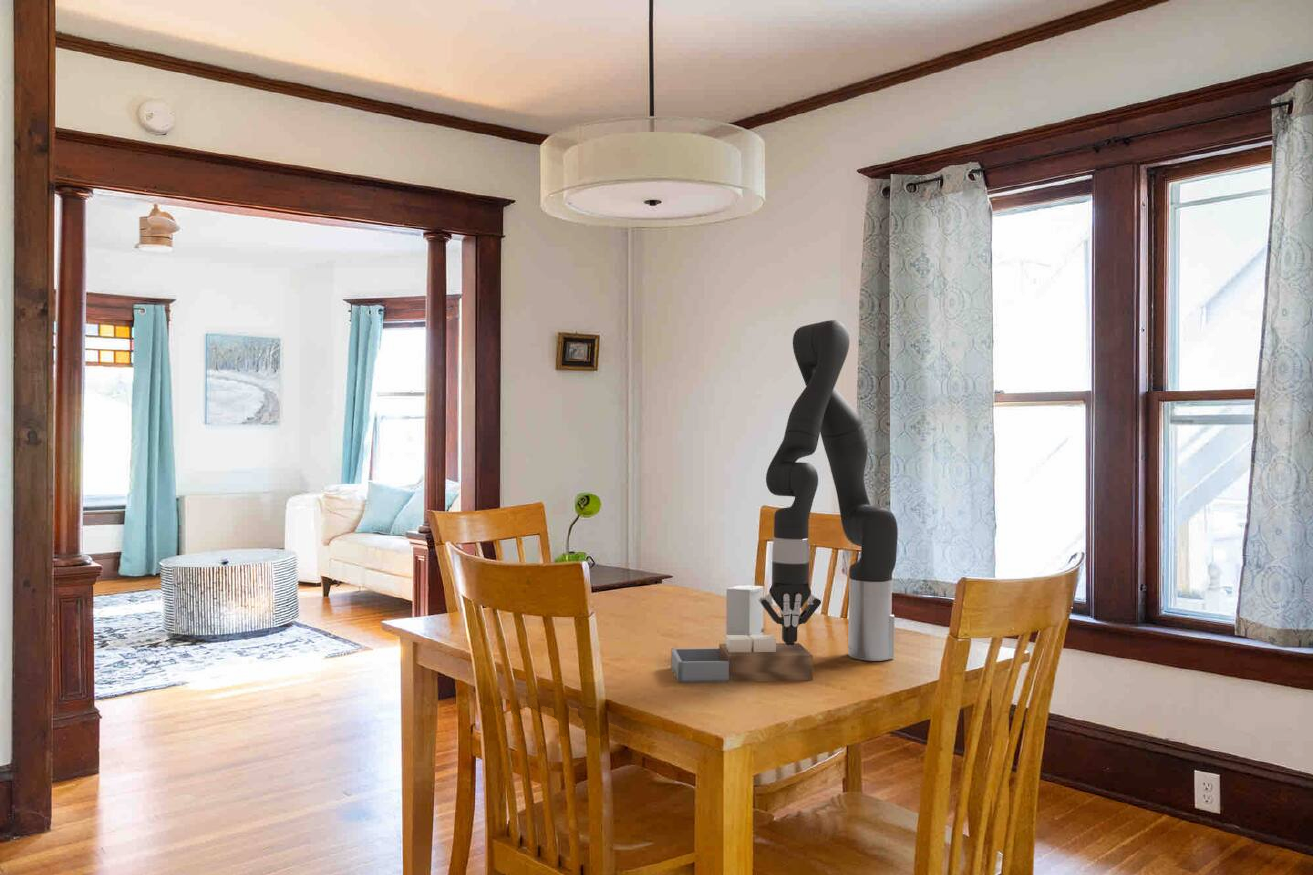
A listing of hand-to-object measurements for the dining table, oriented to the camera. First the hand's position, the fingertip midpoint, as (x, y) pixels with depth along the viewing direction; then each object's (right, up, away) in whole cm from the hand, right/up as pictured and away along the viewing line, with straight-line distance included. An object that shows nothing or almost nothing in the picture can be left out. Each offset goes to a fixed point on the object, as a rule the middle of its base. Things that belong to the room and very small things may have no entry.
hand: (789, 644), depth 195 cm
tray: (-19, -6, -2) cm, 19 cm away
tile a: (-6, -1, 0) cm, 6 cm away
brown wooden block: (-5, -6, 0) cm, 8 cm away
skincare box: (-7, -6, +18) cm, 20 cm away
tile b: (-11, -1, -1) cm, 11 cm away
